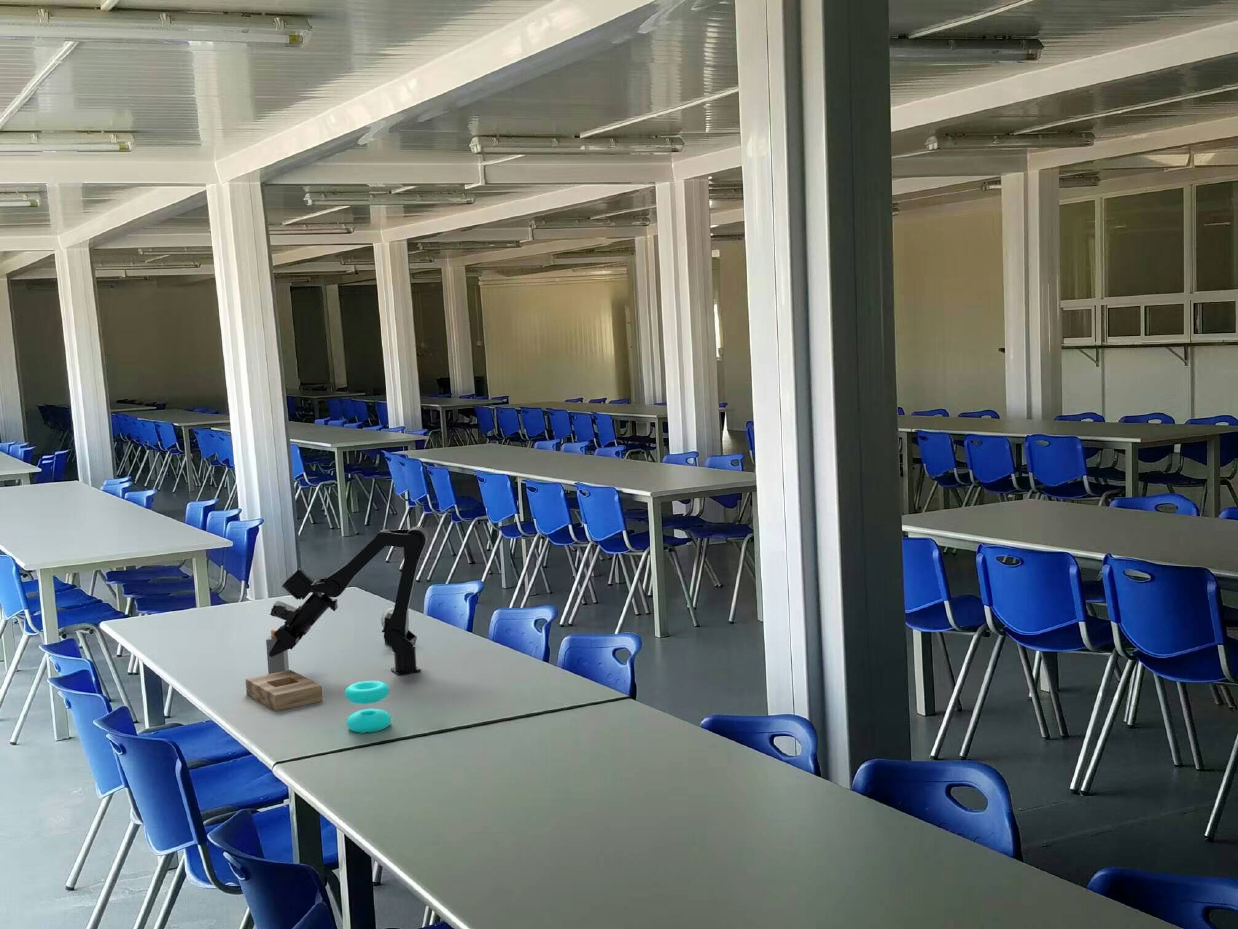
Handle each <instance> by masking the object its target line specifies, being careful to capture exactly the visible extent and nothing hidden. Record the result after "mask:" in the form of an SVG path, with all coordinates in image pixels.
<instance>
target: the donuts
mask: <svg viewBox="0 0 1238 929" xmlns="http://www.w3.org/2000/svg"><path fill="white" fill-rule="evenodd" d="M389 693H390V687H389V686H388V684H387V683H385V682H383V681H379V680H365V681H358V682H355V683H352V684H350V685H348V686H347V687H346V688H345V690H344V696H345V698H346V699H347V701H349V702H351V703H353V704H357V705H368V704H369V705H370V704H374V703H378V702H381V701H383V700H385V698H386V697H387V696H388V695H389ZM391 721H392V718H391V715H390V714H389V713H388V712H387V711H386V710H383V709H379V708H366V709H361V710H360V709H359V710H357V711H355V712H354V713H352V714H351V715H349V716H348V719H347V721H346V726H347V728H348V729H349V730H350V731H352V732H355V733H360V734H361V733H363V734H365V733H366V732H368V733H375V732H378V731H379V732H380V731H381V730H384V729H386V728H387V727H388V726H390V724H391ZM366 734H367V733H366Z"/></svg>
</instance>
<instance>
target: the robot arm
mask: <svg viewBox="0 0 1238 929" xmlns="http://www.w3.org/2000/svg"><path fill="white" fill-rule="evenodd" d="M428 540H429V533H428V531H427V530H426V529H425V527H422V526H420V525H417V526H413V527H410V529H408V528H404V529H403V528H402V529H401V528H400V529H385V528H384V529H381V530H380V531H379V532H378V533H377V534H376V536H375V537H374V538H373V539H371V541H370V542H369V543H368V544H366V546H364V547H363V548H362V549H361V550H360V551H359V552H358V553H357V554H356V555H355V556H354V557H353V558H352V559H351V560H350V561H349V562H348V563H346V564H343V566H341V567H340V568H337V570H336V569H335V571H334V572H332V573H330V574H329V575H328V576H327V577H323V578H318V579H315V580H314V579H313V578H312V577H311V576H309V575H308V574H307V573H306V572H305V571H304V570H303V569H302V568H301V567H299V568H297V570H296V571H295V572H294V573H293V574H292V575H291V576H290V577H288V578H287V580H285V582H283V584H282V585H281V588H283V589H284V590H285V591H286V592H287V593H289V594H290V595H291V596H292V597H293V598H294V599H296V601H298V600H300V601H301V600H303V601H304V600H305V599H306V598H307V597H308V595H309V594H310V593H312V594H311V595H309V597H308V598H307V599H306V600H305V601H304V602H303V603H302V604H301V605H299V607H297V608H296V607H294V606H293V605H290V604H288V603H285V602H282V601H280V600H276V601H275V603H273V606H272V608H271V609H270V610H271V611H270V616H271V617H275V618H279V619H280V620H284V623H283V625H280V626H279V627H278V628H277V629H278V630H277V631H276V632H275V633H274V636H275V637H276V638H277V641H276V643H275V644H274V646H273V648H272V649H271V651H270V653H269V656H270V657H273V656H275V655H277V654H279V653H282V652H284V651H286V650H293V648H295V647H296V645H297V644H298V643H299V642H300V641H301V639H302V638H303V637H304V636H305V635H306V634H307V633H308V632H309V631H310V630H311V628H312V626H314V624H315V623H316V622H317V621H318V620H319V619H320V617H322V616H323V614H324V613H325V612H326V611H327V610H328V609H329V608H330V609H331V610H332V611H333V612H335V611H337V609H338V608H339V607H338V606H339V605H338V600H339V599H338V597H339V596H341V595H342V594H343V593H344V591H345V590H346V589H347V587H348V586H349V585H350V583H351V582H352V581H353V579H355V577H356V575H357V574H358V573H359V571H361V570H362V569H363V568H364V567H365V566H366V565H367V564H368V563H369V562H371V560H373V559H374V557H376V556H377V554H379V553H380V552H381V550H383V549H384V548H386V547H395V548H403V565H402V569H401V574H400V579H399V583H398V588H397V592H396V598H395V602H394V606H393V607H394V610H392V613H391V612H390V613H388V614H387V616H386V617H385V625H384V628H383V629H382V631H381V633H382V634H383V640H384V642H385V641H386V643H388V644H389V645H391V646H390V648H391V650H392V652H393V655H394V657H393V658H394V667H390V671H391V672H393V673H395V674H396V675H398V676H400V675H401V676H402V675H406V674H412V673H417V672H422V669H421V668H420V667H418V666H417V655H416V654H417V651H416V650H417V649H416V646H415V645H416V642H417V639H418V636H417V635H415V634H414V633H413V632H412V631H410V628H409V626H410V620H409V619H410V617H409V616H410V615H409V610H410V605H411V604H410V603H411V600H412V596H413V591H414V585H415V581H416V577H417V572H418V567H419V562H420V560H421V557H422V555H423V552H424V550H425V548H426V545H427V544H428ZM334 598H335V599H334Z"/></svg>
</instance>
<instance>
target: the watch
mask: <svg viewBox="0 0 1238 929" xmlns="http://www.w3.org/2000/svg"><path fill="white" fill-rule="evenodd" d="M394 607H395V606H393V607H389V608H387V609H385V610H384V611H383V613H382V615H381V618H380V621H381V626H382V628H383V629H384V625H385V617H386V616H387V614H388V613H391V612H393V611H394ZM384 645H386V646H389V647H391V645H389V644H388V643H386V641H385V640H384Z"/></svg>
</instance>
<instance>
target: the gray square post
mask: <svg viewBox="0 0 1238 929" xmlns="http://www.w3.org/2000/svg"><path fill="white" fill-rule="evenodd" d="M278 629H279V628H273V629H271V630H270V635H269V636H268V637H267V638H266V639H265V641H266V642H265V643H266V655H267V656H266V658H267V659H266V661H267V669H268V674H272V673H277V672H282V671H287V670H290V666H289V665H290V664H289V651H288V650H289V649H288V650H286V651H284V652H282V653H279V654H277V655H275V656H273V657H270V656H269V653H270V651H271V649H272V648H273V646H274V644H275V643H276V641H277V638H276V637H275V636H274V633H275V632H276V631H277V630H278Z"/></svg>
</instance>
